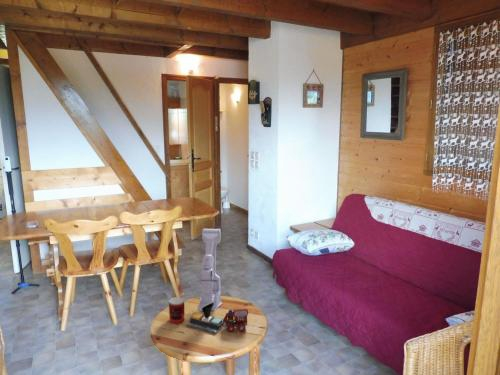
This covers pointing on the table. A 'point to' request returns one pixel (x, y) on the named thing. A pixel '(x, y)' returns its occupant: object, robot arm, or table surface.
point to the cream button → (207, 319)
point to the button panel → (205, 325)
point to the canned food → (176, 310)
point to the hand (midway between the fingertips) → (207, 317)
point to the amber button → (197, 316)
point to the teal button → (216, 321)
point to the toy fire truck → (236, 320)
